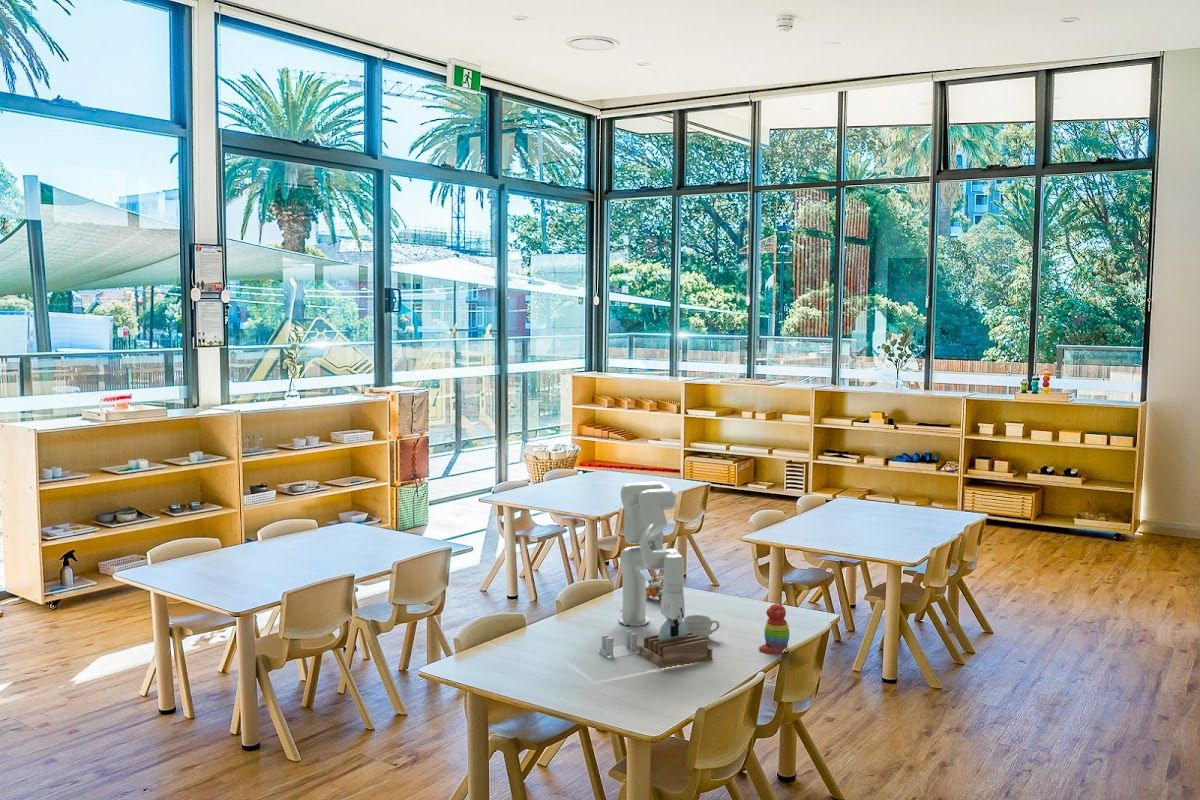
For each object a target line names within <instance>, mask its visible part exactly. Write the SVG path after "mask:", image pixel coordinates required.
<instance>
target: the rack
mask: <svg viewBox="0 0 1200 800" xmlns="http://www.w3.org/2000/svg"><path fill="white" fill-rule="evenodd" d="M687 631H688V630H687ZM658 635H659V633H658V634H652V635H648V636H643V645H640V646H639V653H638V655H640V656H642V657H643V658H645V659H646V660H648V661H650V662H651V663H654V664H656V665H657V666H659V668H660V667H661V668H666V667H672V666H677V665H684V664H689V665H691V664H690V663H693V664H696V663H695V662H698V663H702V662H701V661H703V662H706V661H705V660H708V661H712V660H713V648H711V647H709V640H708V639H703V637H698V635H697V634H695V635H693V632H688V634H687V636H685V637H679V638H674V639H669V640H664V641H659V639H658ZM711 659H712V660H711ZM684 666H685V665H684Z"/></svg>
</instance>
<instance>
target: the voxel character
mask: <svg viewBox="0 0 1200 800" xmlns="http://www.w3.org/2000/svg"><path fill="white" fill-rule="evenodd" d="M646 581H647V582H648V586H646V599H649V598H650V597H652V598H653V599H654V598H658V599H659V600H661V596H662V591H663V573H660V572H658V573H657V574H656V575H652V576H650V577H649V578H648V580H646ZM659 604H660V605H661V602H660V603H659Z"/></svg>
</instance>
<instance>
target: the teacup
mask: <svg viewBox="0 0 1200 800" xmlns="http://www.w3.org/2000/svg"><path fill="white" fill-rule="evenodd" d="M683 622H684V623H685V625H686V627H687V630H688V632H693V635H695V634H697V635H698V637H703V640H706V639H707V638H708V637H709V636H710V635H712V634H713V633H715V632H716V631H718V630H719V628H720V621H718V620H716V619H713V620H712V618H711V617H710V616H707V615H704V614H703V615H702V614H701V615H700V614H699V615H698V614H694V615H693V614H691V615H687V616H684V618H683ZM713 623H714V624H716V627H715V628H714V629H712V626H713Z"/></svg>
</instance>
